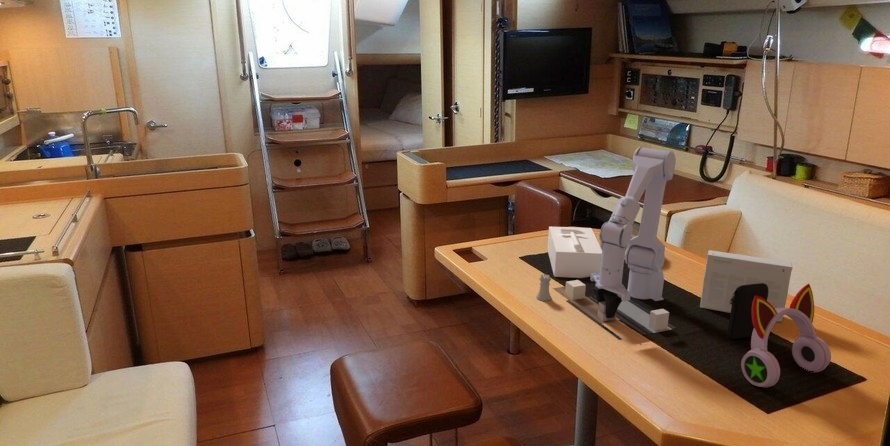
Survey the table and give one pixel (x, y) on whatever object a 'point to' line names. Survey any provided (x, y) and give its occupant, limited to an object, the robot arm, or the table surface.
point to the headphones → (805, 348)
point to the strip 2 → (646, 317)
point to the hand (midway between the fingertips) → (606, 315)
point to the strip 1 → (590, 307)
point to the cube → (575, 289)
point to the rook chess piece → (544, 288)
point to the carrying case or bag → (744, 309)
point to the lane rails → (619, 318)
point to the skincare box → (743, 279)
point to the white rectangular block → (573, 252)
